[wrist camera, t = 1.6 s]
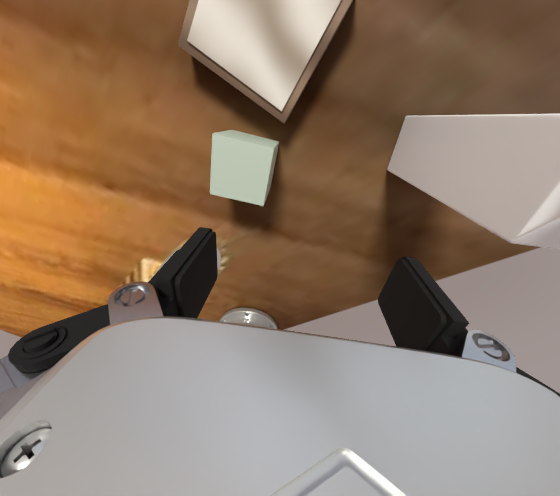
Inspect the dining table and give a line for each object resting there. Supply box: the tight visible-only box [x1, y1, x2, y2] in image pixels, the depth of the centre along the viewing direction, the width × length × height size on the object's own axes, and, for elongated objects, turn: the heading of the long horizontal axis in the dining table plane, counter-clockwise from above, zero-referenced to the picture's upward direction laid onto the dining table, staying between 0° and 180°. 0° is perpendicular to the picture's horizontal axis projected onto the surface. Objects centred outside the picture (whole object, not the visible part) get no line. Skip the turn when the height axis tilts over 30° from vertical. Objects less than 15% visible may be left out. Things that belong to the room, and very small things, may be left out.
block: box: [210, 130, 279, 206], centre depth 25 cm, size 6×6×7 cm
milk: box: [387, 114, 560, 249], centre depth 17 cm, size 6×6×22 cm
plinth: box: [178, 0, 354, 123], centre depth 20 cm, size 12×12×3 cm
